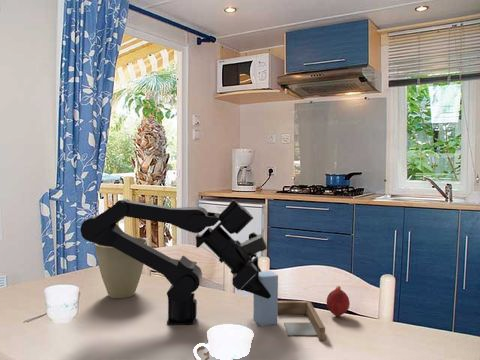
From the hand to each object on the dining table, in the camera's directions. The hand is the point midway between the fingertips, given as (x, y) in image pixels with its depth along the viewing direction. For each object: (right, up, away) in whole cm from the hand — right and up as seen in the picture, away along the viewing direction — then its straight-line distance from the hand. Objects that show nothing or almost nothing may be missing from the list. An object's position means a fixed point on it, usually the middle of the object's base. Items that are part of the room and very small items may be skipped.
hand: (269, 291), depth 100 cm
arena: (+6, -8, -2) cm, 10 cm away
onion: (+18, -8, +4) cm, 20 cm away
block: (-1, -8, 0) cm, 8 cm away
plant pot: (-42, -7, +19) cm, 47 cm away
